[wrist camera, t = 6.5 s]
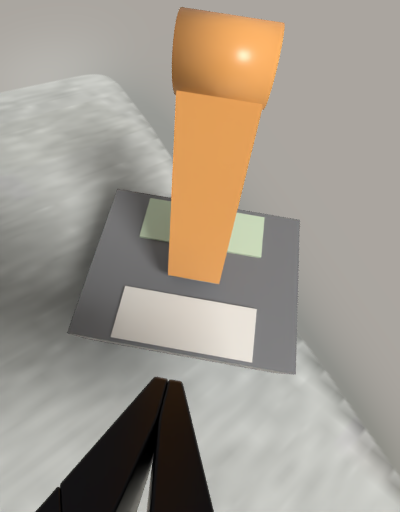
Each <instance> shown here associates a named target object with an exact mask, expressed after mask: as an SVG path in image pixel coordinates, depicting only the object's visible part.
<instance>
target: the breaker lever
mask: <svg viewBox="0 0 400 512" xmlns="http://www.w3.org/2000/svg"><path fill="white" fill-rule="evenodd" d="M283 35H284V23H281V22H275V21H268V20H262V19H255V18H248V17H242V16H236V15H229V14H223V13H216V12H210V11H203V10H197V9H190V8H184V7H181V8H180V9H179V12H178V15H177V19H176V24H175V30H174V39H173V52H172V83H173V90H174V94H175V95H176V108H175V130H174V153H173V173H172V195H171V217H170V239H169V261H168V276H173V277H178V278H184V279H190V280H195V281H201V282H207V283H212V284H218V285H219V282H220V278H221V274H222V270H223V266H224V262H225V258H226V254H227V250H228V246H229V242H230V238H231V234H232V230H233V226H234V221H235V217H236V213H237V209H238V205H239V200H240V197H241V193H242V189H243V185H244V181H245V177H246V173H247V168H248V164H249V160H250V156H251V152H252V148H253V144H254V140H255V136H256V132H257V128H258V124H259V120H260V115H261V111H262V110H264V108H265V106H266V104H267V101H268V98H269V95H270V92H271V89H272V85H273V82H274V78H275V74H276V70H277V66H278V61H279V57H280V52H281V47H282V42H283Z"/></svg>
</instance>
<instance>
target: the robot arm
mask: <svg viewBox="0 0 400 512" xmlns="http://www.w3.org/2000/svg"><path fill="white" fill-rule="evenodd" d="M152 460H153V462H152ZM151 465H152V470H151V478H150V487H149V496H148V505H147V512H214V510H213V506H212V502H211V498H210V494H209V490H208V486H207V482H206V477H205V473H204V469H203V465H202V461H201V457H200V453H199V449H198V444H197V440H196V436H195V432H194V428H193V424H192V420H191V416H190V411H189V407H188V403H187V399H186V395H185V391H184V387H183V383H182V382H181V381H176V380H169V381H168V380H167V379H165V378H160V377H154V378H153V379H152V380H151V381H150V382H149V384H148V385H147V386H146V387H145V388H144V389H143V390H142V392H141V393H140V394H139V395H138V396H137V397H136V398H135V400H134V401H133V402H132V403H131V404H130V405H129V406H128V407H127V409H126V410H125V411H124V412H123V413H122V414H121V415H120V417H119V418H118V419H117V420H116V421H115V422H114V423H113V425H112V426H111V427H110V428H109V429H108V430H107V431H106V432H105V434H104V435H103V436H102V437H101V438H100V439H99V440H98V442H97V443H96V444H95V445H94V446H93V447H92V448H91V450H90V451H89V452H88V453H87V454H86V455H85V456H84V457H83V459H82V460H81V461H80V462H79V463H78V464H77V465H76V467H75V468H74V469H73V470H72V471H71V472H70V473H69V475H68V476H67V477H66V478H65V479H64V480H63V481H62V483H61V484H60V487H57V488H56V489H55V490H54V491H53V493H52V494H51V495H50V496H49V497H48V498H47V499H46V500H45V502H44V503H43V504H42V505H41V506H40V507H39V508H38V509H37V510H36V512H137V509H138V506H139V503H140V500H141V497H142V493H143V490H144V487H145V484H146V481H147V478H148V475H149V471H150V468H151Z"/></svg>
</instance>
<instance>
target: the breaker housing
mask: <svg viewBox="0 0 400 512" xmlns="http://www.w3.org/2000/svg"><path fill="white" fill-rule="evenodd" d="M170 217H171V198H168V197H162V196H156V195H150V194H144V193H138V192H132V191H126V190H120V189H117V191H116V194H115V197H114V200H113V203H112V206H111V209H110V211H109V214H108V217H107V220H106V223H105V226H104V229H103V232H102V234H101V237H100V240H99V243H98V246H97V249H96V252H95V254H94V257H93V260H92V263H91V266H90V269H89V272H88V274H87V277H86V280H85V283H84V286H83V289H82V292H81V295H80V297H79V300H78V303H77V306H76V309H75V312H74V315H73V317H72V320H71V323H70V326H69V329H68V332H67V333H69V334H72V335H76V336H79V337H83V338H87V339H91V340H96V341H102V342H107V343H113V344H118V345H124V346H129V347H135V348H140V349H146V350H152V351H157V352H163V353H168V354H174V355H179V356H185V357H190V358H196V359H201V360H207V361H212V362H218V363H223V364H229V365H234V366H240V367H245V368H251V369H256V370H262V371H267V372H273V373H282V374H295V375H296V341H297V303H298V266H299V265H298V264H299V229H300V220H297V219H291V218H285V217H279V216H274V215H268V214H262V213H256V212H250V211H244V210H238V209H237V213H236V217H235V221H234V226H233V230H232V234H231V238H230V242H229V246H228V250H227V254H226V258H225V262H224V266H223V270H222V274H221V278H220V282H219V285H218V284H212V283H207V282H201V281H195V280H190V279H184V278H178V277H173V276H168V261H169V239H170Z"/></svg>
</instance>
